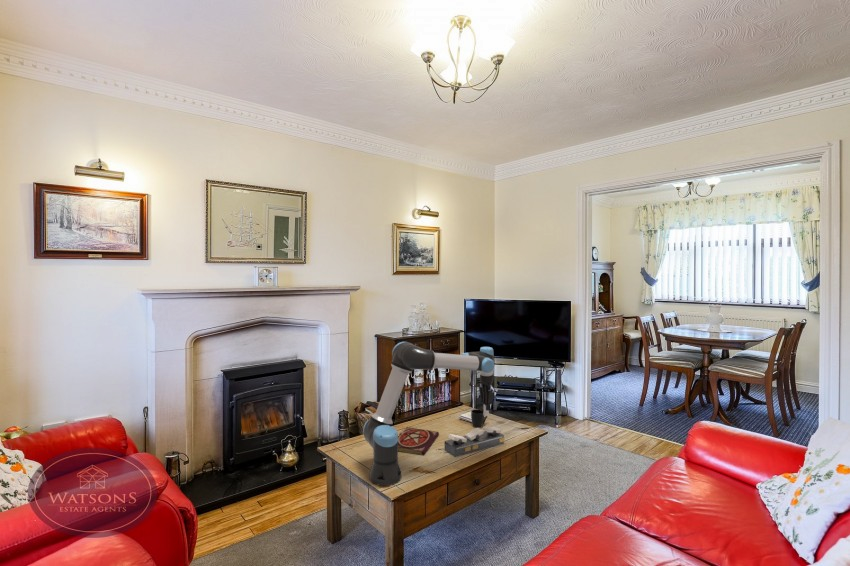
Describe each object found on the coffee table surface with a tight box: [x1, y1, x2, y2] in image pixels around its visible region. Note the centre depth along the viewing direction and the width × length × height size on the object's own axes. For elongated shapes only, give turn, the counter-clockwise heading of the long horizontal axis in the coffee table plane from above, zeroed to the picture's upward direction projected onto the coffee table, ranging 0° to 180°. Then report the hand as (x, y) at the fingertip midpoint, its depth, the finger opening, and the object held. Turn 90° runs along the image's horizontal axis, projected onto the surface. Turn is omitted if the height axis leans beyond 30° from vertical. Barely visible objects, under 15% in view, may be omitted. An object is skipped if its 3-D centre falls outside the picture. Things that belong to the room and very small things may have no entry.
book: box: [398, 426, 440, 456], centre depth 243 cm, size 28×21×5 cm
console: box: [443, 430, 505, 458], centre depth 237 cm, size 34×10×5 cm, turn 120°
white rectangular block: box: [464, 427, 484, 441], centre depth 237 cm, size 9×5×3 cm, turn 120°
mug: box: [470, 408, 488, 429], centre depth 268 cm, size 8×12×10 cm
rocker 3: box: [482, 425, 502, 435], centre depth 243 cm, size 9×5×3 cm, turn 121°
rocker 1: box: [448, 433, 467, 444], centre depth 231 cm, size 9×5×3 cm, turn 121°
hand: (486, 415), depth 240 cm, fingers closed
